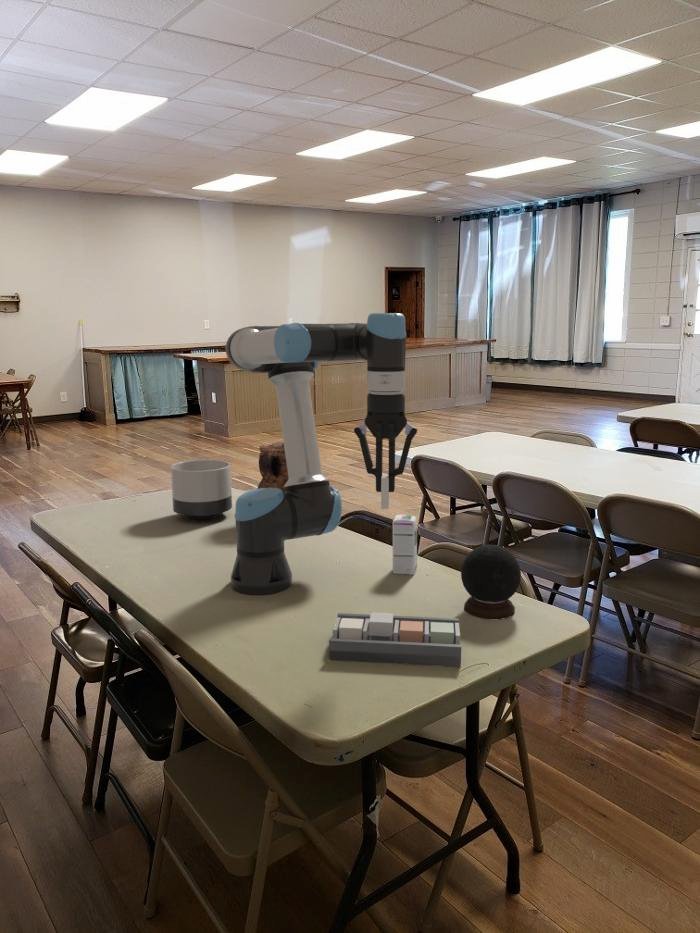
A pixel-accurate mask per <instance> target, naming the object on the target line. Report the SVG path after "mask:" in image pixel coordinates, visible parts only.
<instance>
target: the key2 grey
mask: <svg viewBox="0 0 700 933" xmlns="http://www.w3.org/2000/svg"><path fill="white" fill-rule="evenodd" d="M370 615H371V616H370V621H369V633H376V634H392V631H393V616H394V613H392V612H370Z"/></svg>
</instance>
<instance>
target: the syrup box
mask: <svg viewBox="0 0 700 933" xmlns="http://www.w3.org/2000/svg"><path fill="white" fill-rule="evenodd" d="M417 568H418V516H417V515H412V514H395V516H394V518H393V520H392V573H393V574H395V575H404V574H409V575H410V576H415V573H416V571H417Z"/></svg>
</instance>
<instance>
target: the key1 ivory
mask: <svg viewBox="0 0 700 933" xmlns="http://www.w3.org/2000/svg"><path fill="white" fill-rule="evenodd" d="M363 629H364V619H351V618H342V619H341V622H340V626H339V639H355V640H362V636H363Z"/></svg>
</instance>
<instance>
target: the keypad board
mask: <svg viewBox="0 0 700 933" xmlns="http://www.w3.org/2000/svg"><path fill="white" fill-rule="evenodd" d="M370 616H371V614H367V613H366V614H365V613H364V614H362V613H346V612H345V613H341V612H340V613H339V612H338V613H337V616H336V618H335V621H334V625H333V628H332V638H329V645H328V647H329V648H328V649H329V651H328V652H329V653H328V654H329V657H328V658H329V661H343V662H363V663H381V664H384V663H385V664H400V665H417V666H419V665H421V666H436V665H437V666H438V665H442V666H443V667H456V666H461V667H462V644H461V630H460V619H459V618H457V617H456V618H453V617H435V616H434V617H432V616H431V617H430V616H410V615H407V616H406V615H393V631H392V634H376V633H369V621H370ZM342 618H351V619H364V629H363V636H362V640H355V639H339V626H340V622H341V619H342ZM401 621H419V622H423V643H417V642H400V623H401ZM431 622H441V623H453V626H454V644H438V643H430V631H431Z"/></svg>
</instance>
